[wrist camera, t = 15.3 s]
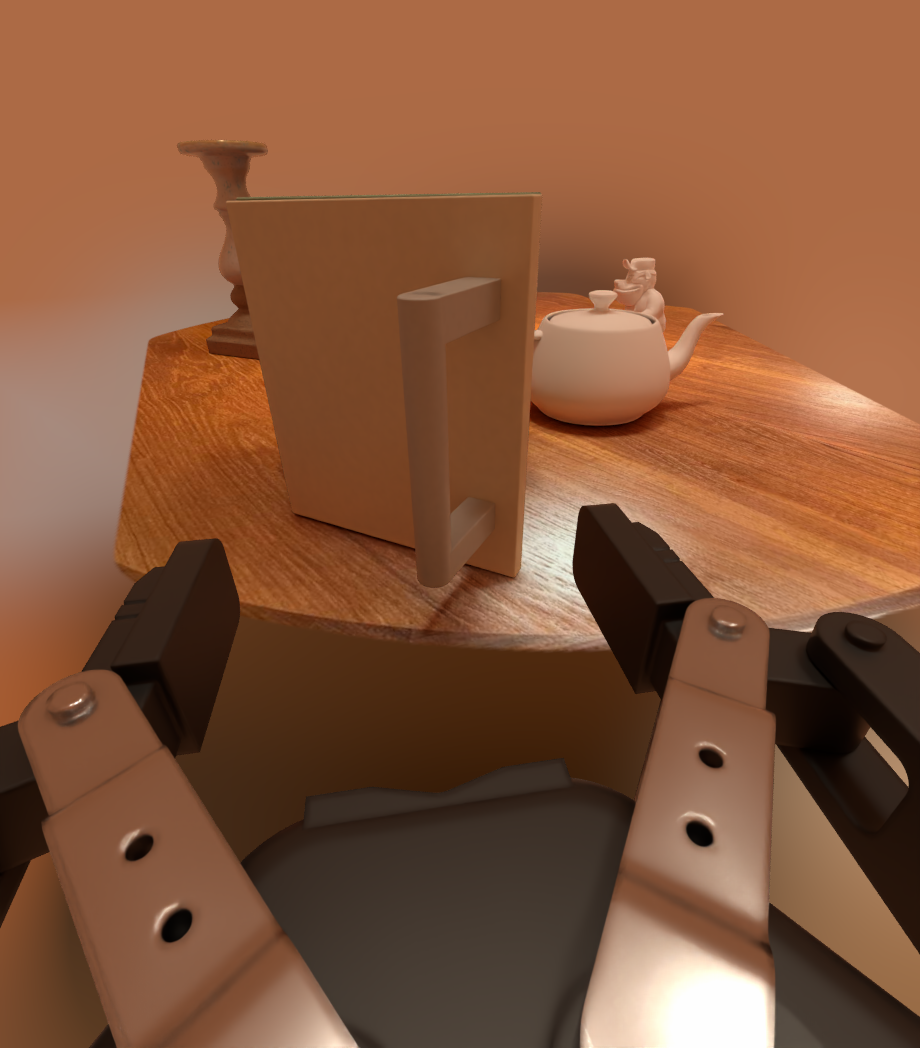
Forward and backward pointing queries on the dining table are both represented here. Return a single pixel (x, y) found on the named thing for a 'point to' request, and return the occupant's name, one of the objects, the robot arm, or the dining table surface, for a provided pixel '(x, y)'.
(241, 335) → the candle holder
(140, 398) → the dining table surface
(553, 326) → the teapot
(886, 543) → the dining table surface
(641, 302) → the figurine
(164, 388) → the dining table surface
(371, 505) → the peach cabinet door
